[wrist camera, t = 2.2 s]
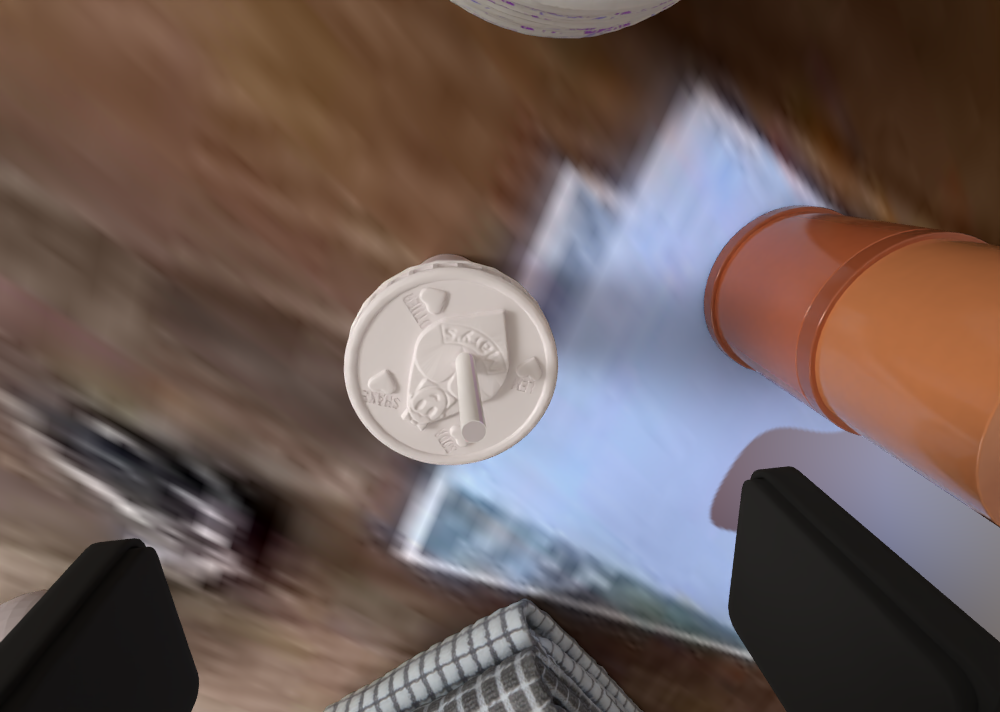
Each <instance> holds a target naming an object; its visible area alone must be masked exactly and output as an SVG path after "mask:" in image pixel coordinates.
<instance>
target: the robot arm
mask: <svg viewBox="0 0 1000 712" xmlns="http://www.w3.org/2000/svg"><path fill="white" fill-rule="evenodd" d="M728 610H729V616H730V619H731V622H732V625H733V627H734V629H735V631H736V632H737V634H738V635H739V637H740V639H741V640H742V642H743V643H744V645H745V647H746V648H747V650H748V651H749V653H750V654H751V656H752V658H753V659H754V661H755V662H756V664H757V665H758V667H759V669H760V670H761V672H762V673H763V675H764V676H765V678H766V680H767V681H768V683H769V684H770V686H771V687H772V689H773V691H774V692H775V694H776V695H777V697H778V699H779V700H780V702H781V703H782V705H783V706H784V708H785V710H786V711H787V712H1000V642H999V641H998V640H997V639H995V638H994V637H993V636H992V635H991V634H989V633H988V632H987V631H986V630H985V629H984V628H982V627H981V626H980V625H979V624H978V623H977V622H975V621H974V620H973V619H972V618H971V617H970V616H968V615H967V614H966V613H965V612H964V611H962V610H961V609H960V608H959V607H958V606H957V605H956V604H954V603H953V602H952V601H951V600H950V599H948V598H947V597H946V596H945V595H944V594H943V593H941V592H940V591H939V590H938V589H937V588H936V587H934V586H933V585H932V584H931V583H930V582H929V581H927V580H926V579H925V578H924V577H922V576H921V575H920V574H919V573H918V572H917V571H916V570H915V569H913V568H912V567H911V566H910V565H908V564H907V563H906V562H905V561H904V560H903V559H902V558H900V557H899V556H898V555H897V554H896V553H895V552H893V551H892V550H891V549H890V548H889V547H888V546H886V545H885V544H884V543H883V542H882V541H880V540H879V539H878V538H877V537H876V536H875V535H873V534H872V533H871V532H870V531H869V530H868V529H866V528H865V527H864V526H863V525H862V524H861V523H859V522H858V521H857V520H856V519H855V518H854V517H852V516H851V515H850V514H849V513H848V512H847V511H845V510H844V509H843V508H842V507H841V506H839V505H838V504H837V503H836V502H835V501H834V500H832V499H831V498H830V497H829V496H828V495H826V494H825V493H824V492H823V491H822V490H821V489H820V488H818V487H817V486H816V485H815V484H814V483H813V482H811V481H810V480H809V479H808V478H807V477H806V476H804V475H803V474H802V473H801V472H800V471H798V470H797V469H795V468H794V467H789V466H788V467H779V468H769V469H760V470H756V471H755V472H754V473H753V474H752V476H751V479H750V480H747V481H745V482H744V484H743V487H742V493H741V501H740V510H739V518H738V527H737V535H736V544H735V552H734V561H733V569H732V578H731V586H730V595H729V603H728ZM198 689H199V677H198V673H197V670H196V667H195V664H194V661H193V658H192V655H191V652H190V649H189V646H188V643H187V640H186V637H185V634H184V631H183V628H182V625H181V622H180V620H179V617H178V614H177V611H176V608H175V605H174V602H173V599H172V596H171V593H170V590H169V587H168V584H167V581H166V578H165V575H164V572H163V569H162V566H161V563H160V560H159V557H158V555H157V553H156V551H155V549H153V548H152V547H146V546H145V544H144V543H143V542H142V541H141V540H140V539H135V538H134V539H125V540H116V541H106V542H98V543H95V544H92V545H90V546H89V547H88V548H87V549H85V551H84V552H83V553H82V554H81V555H80V556H79V557H78V558H77V559H76V560H75V561H74V563H73V564H72V565H71V566H70V567H69V568H68V569H67V570H66V571H65V572H64V573H63V575H62V576H61V577H60V578H59V579H58V580H57V581H56V582H55V583H54V584H53V585H52V587H51V588H50V589H49V590H48V591H47V592H46V593H45V594H44V595H43V596H42V597H41V599H40V600H39V601H38V602H37V603H36V604H35V605H34V606H33V607H32V608H31V609H30V611H29V612H28V613H27V614H26V615H25V616H24V617H23V618H22V619H21V620H20V621H19V623H18V624H17V625H16V626H15V627H14V628H13V629H12V630H11V631H10V632H9V633H8V634H7V636H6V637H5V638H4V639H3V640H2V641H1V642H0V712H191V711H192V708H193V706H194V704H195V701H196V699H197V694H198Z"/></svg>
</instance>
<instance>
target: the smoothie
mask: <svg viewBox="0 0 1000 712" xmlns="http://www.w3.org/2000/svg"><path fill="white" fill-rule="evenodd" d="M557 373H558V357H557V349H556V345H555V340H554V337H553V334H552V331H551V329H550V326H549V323H548V321H547V320H546V318H545V316H544V314H543V312H542V310H541V308H540V307H539V305H538V303H537V301H536V300H535V299H534V298H533V297H532V296H531V295H530V294H529V293H528V292H527V291H526V290H525V289H524V288H523V287H522V286H521V285H520V284H519V283H518V282H517V281H515V280H514V279H512V278H510V277H508V276H507V275H505V274H503V273H502V272H500V271H498V270H497V269H495V268H492V267H489V266H485V265H481V264H478V263H474V262H471V261H470V260H468V259H466V258H464V257H461V256H458V255H453V254H441V255H437V256H434V257H431V258H429V259H427V260H425V261H424V262H423V263H421V264H420V265H417V266H413V267H409V268H407V269H406V270H404V271H402V272H400V273H399V274H397V275H395V276H393V277H392V278H390V279H388V280H387V281H385V282H383V283H382V284H381V285H380V286H379V287H378V289H377V290H376V291H375V292H374V293H373V294H372V295H371V296H370V297H369V298H368V299H367V300H366V301H365V302H364V303H363V305H362V307H361V309H360V311H359V313H358V314H357V316H356V318H355V320H354V322H353V324H352V326H351V330H350V334H349V339H348V342H347V346H346V351H345V357H344V378H345V384H346V389H347V392H348V396H349V399H350V401H351V404H352V406H353V408H354V410H355V412H356V414H357V415H358V417H359V418H360V420H361V421H362V423H363V424H364V425H365V427H366V428H367V429H368V430H369V431H370V432H371V433H372V434H373V435H374V436H375V437H376V438H377V439H378V440H380V441H381V442H382V443H383V444H385V445H386V446H388V447H389V448H391V449H392V450H394V451H396V452H398V453H400V454H402V455H404V456H406V457H409V458H412V459H415V460H418V461H421V462H426V463H431V464H438V465H460V464H468V463H474V462H478V461H482V460H485V459H488V458H491V457H493V456H496V455H498V454H500V453H502V452H504V451H506V450H507V449H509V448H511V447H512V446H514V445H515V444H517V443H518V442H519V441H521V440H522V439H523V438H524V437H525V436H526V435H527V434H528V433H529V432H530V431H531V430H532V429H533V428H534V427H535V426H536V424H537V423H538V422H539V421H540V419H541V418H542V416H543V415H544V413H545V411H546V409H547V408H548V406H549V404H550V401H551V399H552V396H553V393H554V390H555V386H556V381H557Z"/></svg>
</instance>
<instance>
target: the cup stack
mask: <svg viewBox="0 0 1000 712" xmlns="http://www.w3.org/2000/svg"><path fill="white" fill-rule="evenodd" d="M704 314H705V320H706V324H707V327H708V330H709V333H710V335H711V337H712V339H713V340H714V342H715V343H716V345H717V346H718V347H719V349H720V350H721V351H722V352H723V353H724V354H726V355H727V356H728V357H730V358H731V359H732V360H734V361H735V362H737V363H738V364H740V365H742V366H744V367H746V368H748V369H751V370H754V371H757V372H759V373H760V374H761V375H763V376H764V377H766V378H767V379H769V380H770V381H772V382H773V383H775V384H776V385H778V386H779V387H781V388H782V389H784V390H785V391H786V392H788V393H789V394H791V395H792V396H794V397H795V398H797V399H798V400H800V401H801V402H803V403H804V404H806V405H807V406H809V407H810V408H811V409H813V410H814V411H816V412H817V413H819V414H820V415H822V416H823V417H825V418H826V419H828V420H829V421H831V422H832V423H834V424H835V425H836V426H838V427H840V428H842V429H844V430H845V431H847V432H850V433H853V434H856V435H860V436H863V437H864V438H866V439H867V440H869V441H870V442H872V443H873V444H875V445H877V446H878V447H880V448H881V449H883V450H884V451H885V452H887V453H888V454H890V455H891V456H893V457H895V458H896V459H898V460H899V461H901V462H902V463H904V464H905V465H907V466H908V467H910V468H911V469H913V470H914V471H916V472H917V473H919V474H920V475H922V476H923V477H925V478H926V479H928V480H929V481H931V482H932V483H934V484H935V485H937V486H938V487H940V488H941V489H943V490H944V491H946V492H947V493H949V494H950V495H952V496H953V497H955V498H956V499H958V500H959V501H961V502H962V503H964V504H965V505H967V506H968V507H970V508H971V509H973V510H974V511H976V512H977V513H979V514H981V515H982V516H983V517H985V518H986V519H988V520H989V521H991V522H993V523H994V524H995V525H997V526H998V527H1000V246H999V245H993V244H987V243H986V242H984V241H982V240H980V239H978V238H976V237H974V236H970V235H967V234H963V233H958V232H951V231H944V230H938V229H931V228H924V227H918V226H911V225H904V224H898V223H891V222H884V221H878V220H871V219H864V218H858V217H851V216H844V215H842V214H840V213H838V212H836V211H834V210H830V209H826V208H822V207H815V206H806V205H798V206H789V207H783V208H779V209H776V210H773V211H770V212H768V213H766V214H764V215H762V216H760V217H758V218H756V219H755V220H753V221H751V222H750V223H748V224H747V225H746V226H745V227H743V228H742V229H741V230H740V231H739V232H737V233H736V234H735V235H734V236H733V237H732V238H731V239H730V241H729V242H728V243H727V244H726V246H725V247H724V248H723V250H722V251H721V253H720V254H719V256H718V257H717V259H716V261H715V263H714V265H713V267H712V269H711V272H710V274H709V277H708V280H707V284H706V289H705V296H704Z"/></svg>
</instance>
